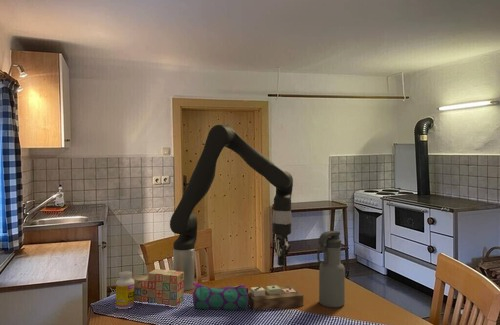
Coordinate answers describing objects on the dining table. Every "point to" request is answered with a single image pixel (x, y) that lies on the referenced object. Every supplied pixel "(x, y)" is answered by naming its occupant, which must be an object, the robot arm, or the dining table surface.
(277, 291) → the button one dot
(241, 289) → the pencil case
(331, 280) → the water bottle
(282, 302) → the button panel
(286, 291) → the button two dots
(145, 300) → the stack of blocks
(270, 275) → the dining table surface
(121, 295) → the supplement bottle
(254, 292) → the button three dots
